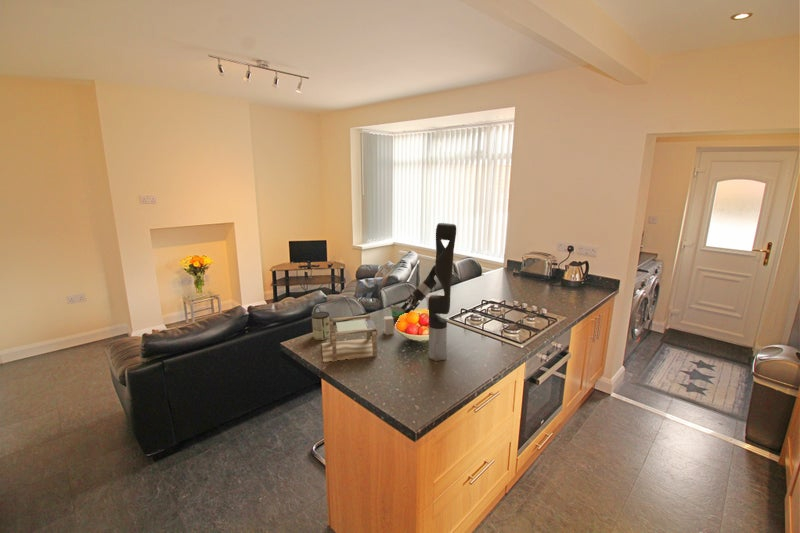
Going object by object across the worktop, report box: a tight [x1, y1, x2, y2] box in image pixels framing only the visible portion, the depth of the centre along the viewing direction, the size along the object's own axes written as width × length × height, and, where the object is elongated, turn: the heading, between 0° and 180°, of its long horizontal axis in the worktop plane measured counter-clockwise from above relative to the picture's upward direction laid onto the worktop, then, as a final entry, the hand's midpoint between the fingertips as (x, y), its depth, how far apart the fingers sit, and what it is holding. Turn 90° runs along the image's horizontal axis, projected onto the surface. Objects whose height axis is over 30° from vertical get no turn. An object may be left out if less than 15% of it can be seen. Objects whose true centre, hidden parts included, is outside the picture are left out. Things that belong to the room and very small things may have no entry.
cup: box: [424, 292, 444, 317], centre depth 248 cm, size 12×12×15 cm
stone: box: [383, 315, 395, 336], centre depth 221 cm, size 5×5×10 cm
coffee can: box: [311, 311, 330, 341], centre depth 217 cm, size 10×10×14 cm
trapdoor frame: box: [321, 314, 378, 363], centre depth 198 cm, size 23×28×15 cm
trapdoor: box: [335, 318, 378, 337], centre depth 198 cm, size 18×20×4 cm
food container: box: [389, 303, 408, 322], centre depth 242 cm, size 12×6×10 cm, turn 62°
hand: (403, 311), depth 221 cm, fingers open, 8 cm apart
